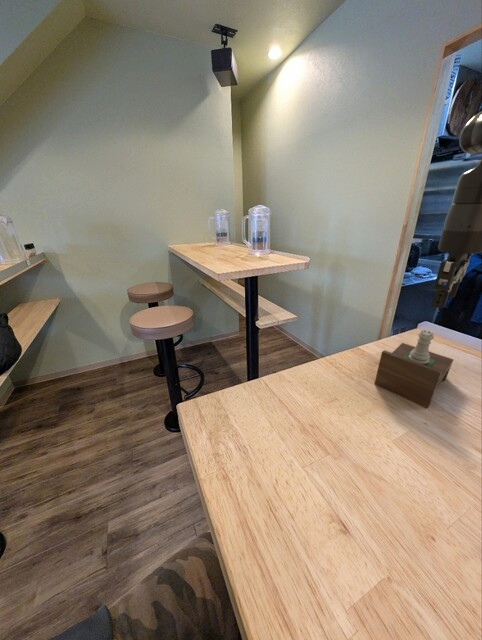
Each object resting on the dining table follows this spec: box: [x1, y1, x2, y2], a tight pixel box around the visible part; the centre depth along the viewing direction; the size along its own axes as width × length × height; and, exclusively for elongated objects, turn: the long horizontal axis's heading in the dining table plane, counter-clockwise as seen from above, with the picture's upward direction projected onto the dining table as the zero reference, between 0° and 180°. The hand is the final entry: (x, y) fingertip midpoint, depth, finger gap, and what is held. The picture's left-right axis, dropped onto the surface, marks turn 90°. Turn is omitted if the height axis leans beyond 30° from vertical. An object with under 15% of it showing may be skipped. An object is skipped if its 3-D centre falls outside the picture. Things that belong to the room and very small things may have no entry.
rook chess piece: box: [409, 329, 435, 364], centre depth 63 cm, size 4×4×8 cm
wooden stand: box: [374, 342, 455, 409], centre depth 65 cm, size 16×12×10 cm
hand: (443, 301), depth 58 cm, fingers open, 8 cm apart
